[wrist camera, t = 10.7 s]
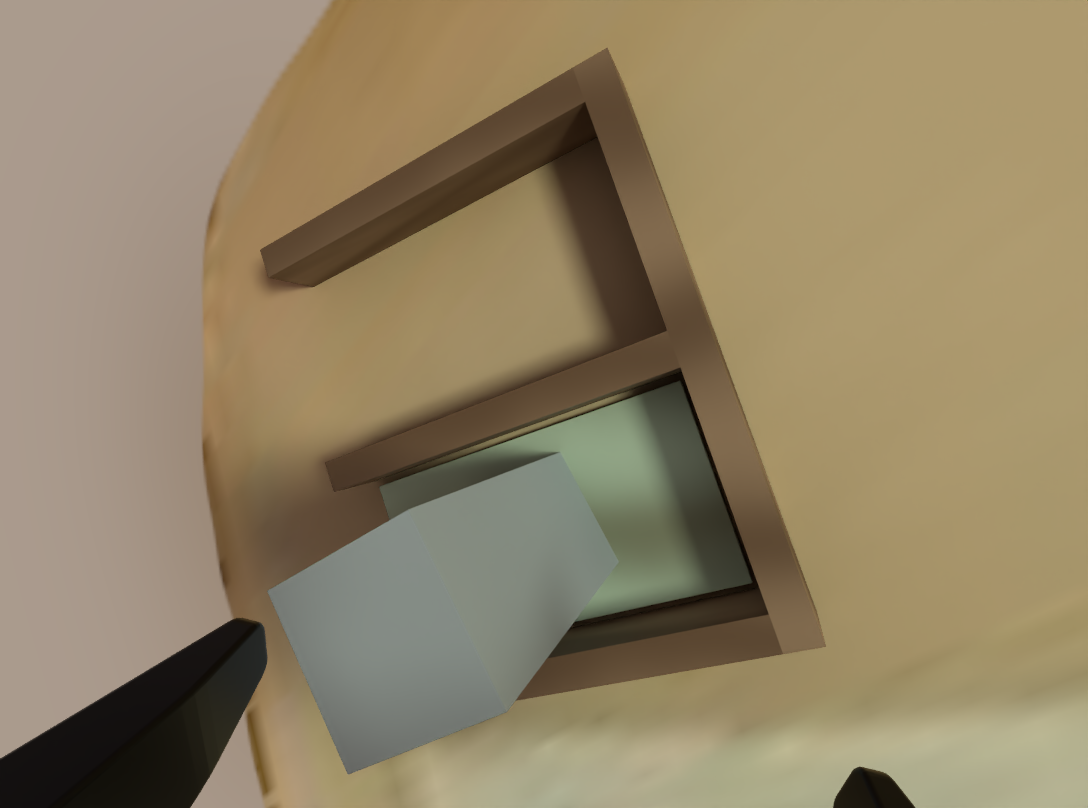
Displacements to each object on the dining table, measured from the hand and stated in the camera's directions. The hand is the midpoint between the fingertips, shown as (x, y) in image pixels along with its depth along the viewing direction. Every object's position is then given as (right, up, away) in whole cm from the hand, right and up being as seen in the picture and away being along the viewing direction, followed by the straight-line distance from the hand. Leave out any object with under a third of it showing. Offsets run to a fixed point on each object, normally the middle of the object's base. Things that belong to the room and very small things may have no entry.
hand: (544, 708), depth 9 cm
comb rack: (-1, +4, +14) cm, 14 cm away
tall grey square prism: (0, 0, +13) cm, 13 cm away
